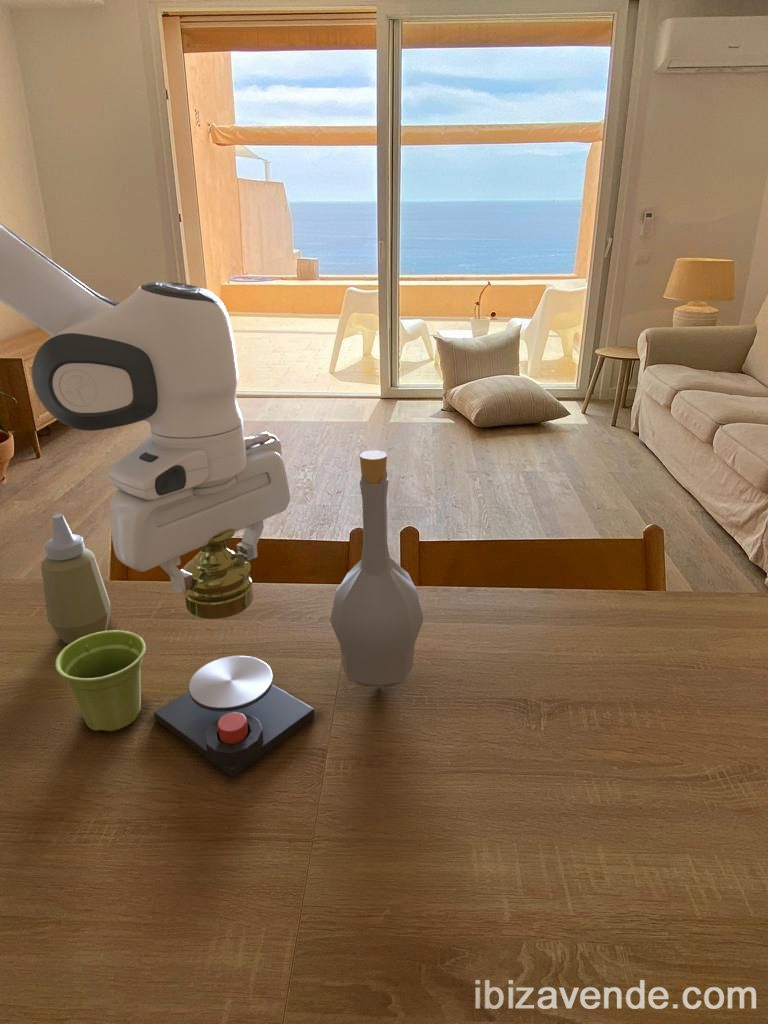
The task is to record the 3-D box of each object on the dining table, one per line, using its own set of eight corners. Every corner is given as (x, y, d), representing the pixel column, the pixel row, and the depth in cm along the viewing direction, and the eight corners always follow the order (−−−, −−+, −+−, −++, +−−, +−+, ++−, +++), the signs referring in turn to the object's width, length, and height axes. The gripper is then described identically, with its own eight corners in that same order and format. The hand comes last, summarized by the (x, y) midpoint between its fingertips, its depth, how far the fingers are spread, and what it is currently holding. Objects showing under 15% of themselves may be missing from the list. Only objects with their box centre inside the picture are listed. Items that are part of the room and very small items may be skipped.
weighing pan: (172, 688, 81) (171, 684, 80) (237, 650, 87) (236, 646, 87) (224, 724, 75) (224, 719, 75) (289, 680, 82) (289, 676, 81)
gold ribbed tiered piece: (248, 581, 81) (240, 502, 77) (259, 613, 75) (250, 530, 70) (183, 592, 79) (171, 512, 75) (188, 626, 72) (175, 541, 68)
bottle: (352, 727, 79) (342, 481, 66) (319, 671, 88) (305, 446, 76) (440, 699, 83) (446, 463, 70) (399, 649, 92) (399, 432, 80)
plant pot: (133, 679, 87) (121, 620, 83) (170, 714, 81) (160, 653, 77) (57, 715, 81) (42, 653, 78) (92, 756, 75) (76, 691, 71)
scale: (151, 722, 80) (147, 701, 78) (236, 670, 88) (234, 650, 87) (232, 783, 71) (229, 760, 70) (317, 718, 80) (316, 697, 79)
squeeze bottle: (122, 637, 95) (98, 519, 88) (59, 658, 91) (29, 535, 84) (107, 611, 101) (83, 498, 94) (47, 630, 97) (18, 513, 90)
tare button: (213, 735, 74) (211, 723, 73) (235, 720, 76) (234, 708, 75) (231, 748, 72) (229, 735, 71) (253, 732, 74) (252, 720, 73)
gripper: (259, 422, 79) (269, 532, 84) (90, 474, 64) (116, 602, 70) (298, 433, 75) (305, 547, 81) (128, 490, 61) (152, 623, 66)
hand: (216, 573), depth 75 cm, fingers closed on gold ribbed tiered piece, 7 cm apart
